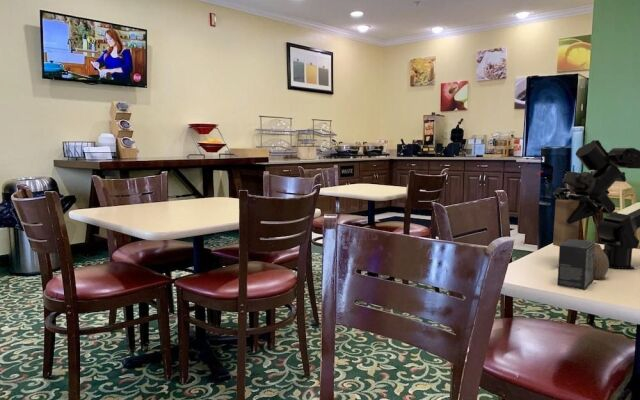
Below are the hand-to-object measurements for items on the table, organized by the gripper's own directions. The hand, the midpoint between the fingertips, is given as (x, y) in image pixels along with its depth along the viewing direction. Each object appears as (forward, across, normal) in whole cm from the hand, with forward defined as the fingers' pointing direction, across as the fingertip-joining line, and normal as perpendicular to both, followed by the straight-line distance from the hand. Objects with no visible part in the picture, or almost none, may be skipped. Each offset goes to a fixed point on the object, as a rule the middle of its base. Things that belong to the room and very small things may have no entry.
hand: (562, 221), depth 131 cm
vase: (+8, +10, +12) cm, 17 cm away
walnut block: (+4, 0, +6) cm, 7 cm away
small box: (+14, +14, +5) cm, 21 cm away
